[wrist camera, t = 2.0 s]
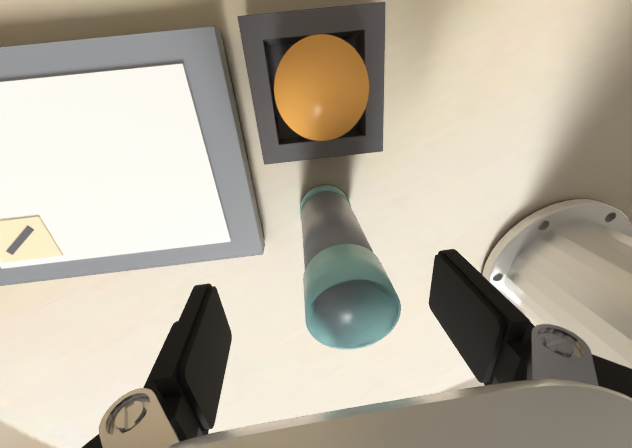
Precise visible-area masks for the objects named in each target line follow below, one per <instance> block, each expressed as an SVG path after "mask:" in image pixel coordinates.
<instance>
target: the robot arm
mask: <svg viewBox="0 0 632 448" xmlns="http://www.w3.org/2000/svg"><path fill="white" fill-rule="evenodd" d="M429 306H430V309H431V311H432V312H433V314H434V315H435V317H436V318H437V320H438V321H439V323H440V324H441V326H442V327H443V329H444V330H445V332H446V333H447V335H448V336H449V338H450V339H451V341H452V342H453V344H454V345H455V347H456V348H457V350H458V351H459V353H460V354H461V356H462V357H463V359H464V360H465V362H466V363H467V365H468V366H469V368H470V369H471V371H472V372H473V374H474V375H475V377H476V378H477V380H478V381H479V382H481V383H484V384H485V386H480V387H473V388H467V389H461V390H455V391H449V392H442V393H436V394H430V395H424V396H418V397H412V398H406V399H400V400H394V401H388V402H383V403H377V404H371V405H365V406H359V407H353V408H347V409H342V410H336V411H330V412H324V413H319V414H313V415H307V416H302V417H296V418H290V419H285V420H279V421H273V422H268V423H262V424H257V425H251V426H246V427H241V428H236V429H231V430H226V431H221V432H216V433H211V434H208V430H209V429H212V428H213V426H214V423H215V419H216V414H217V409H218V404H219V399H220V394H221V389H222V384H223V379H224V375H225V370H226V365H227V360H228V355H229V350H230V345H231V340H232V335H231V330H230V327H229V324H228V321H227V318H226V315H225V312H224V309H223V306H222V304H221V301H220V298H219V295H218V292H217V289H216V287H215V286H214V287H212V286H211V284H203V285H196V286H194V288H193V290H192V292H191V294H190V297H189V299H188V301H187V303H186V305H185V308H184V310H183V312H182V314H181V317H180V319H179V321H176V322H175V323H174V324H173V326H172V327H171V330H170V332H169V334H168V336H167V338H166V340H165V343H164V345H163V347H162V349H161V351H160V353H159V355H158V358H157V360H156V362H155V364H154V366H153V368H152V370H151V373H150V375H149V377H148V379H147V381H146V383H145V386H144V388H140V389H136V390H133V391H130V392H128V393H127V394H125V395H123V396H122V397H120V398H119V399H118V400H117V401H115V402H114V403H113V404H112V406H111V407H110V408H109V409H108V410H107V411H106V413H105V415H104V416H103V418H102V420H101V423H100V426H99V434H98V435H97V436H96V437H94V438H93V439H92V440H91V441H89V442H88V443H87V444H86V445H84V446H83V447H82V448H632V225H631V223H630V221H629V219H628V217H627V216H626V215H625V214H624V213H623V212H622V211H621V210H619V209H617V208H615V207H613V206H611V205H608V204H605V203H602V202H599V201H596V200H589V199H575V200H567V201H563V202H559V203H556V204H552V205H550V206H547V207H545V208H543V209H541V210H538V211H536V212H534V213H533V214H531V215H529V216H528V217H526V218H525V219H523V220H521V221H520V222H519V223H518V224H516V225H515V226H514V227H513V228H511V229H510V230H509V231H508V232H507V233H506V234H505V235H504V236H503V237H502V238H501V239H500V240H499V242H498V243H497V244H496V246H495V247H494V249H493V250H492V251H491V253H490V255H489V257H488V259H487V261H486V263H485V266H484V269H483V273H482V274H481V273H480V272H478V271H477V270H476V269H475V268H474V267H473V266H472V265H471V264H470V263H469V262H468V261H467V260H466V259H465V258H464V257H463V256H461V255H460V254H459V253H458V252H457V251H456V250H455V249H450V250H443V251H439V253H438V255H436V256H435V259H434V267H433V274H432V282H431V290H430V297H429ZM531 322H532V323H533V324H535V325H536V326H534V325H533V324H532V323H531Z"/></svg>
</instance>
